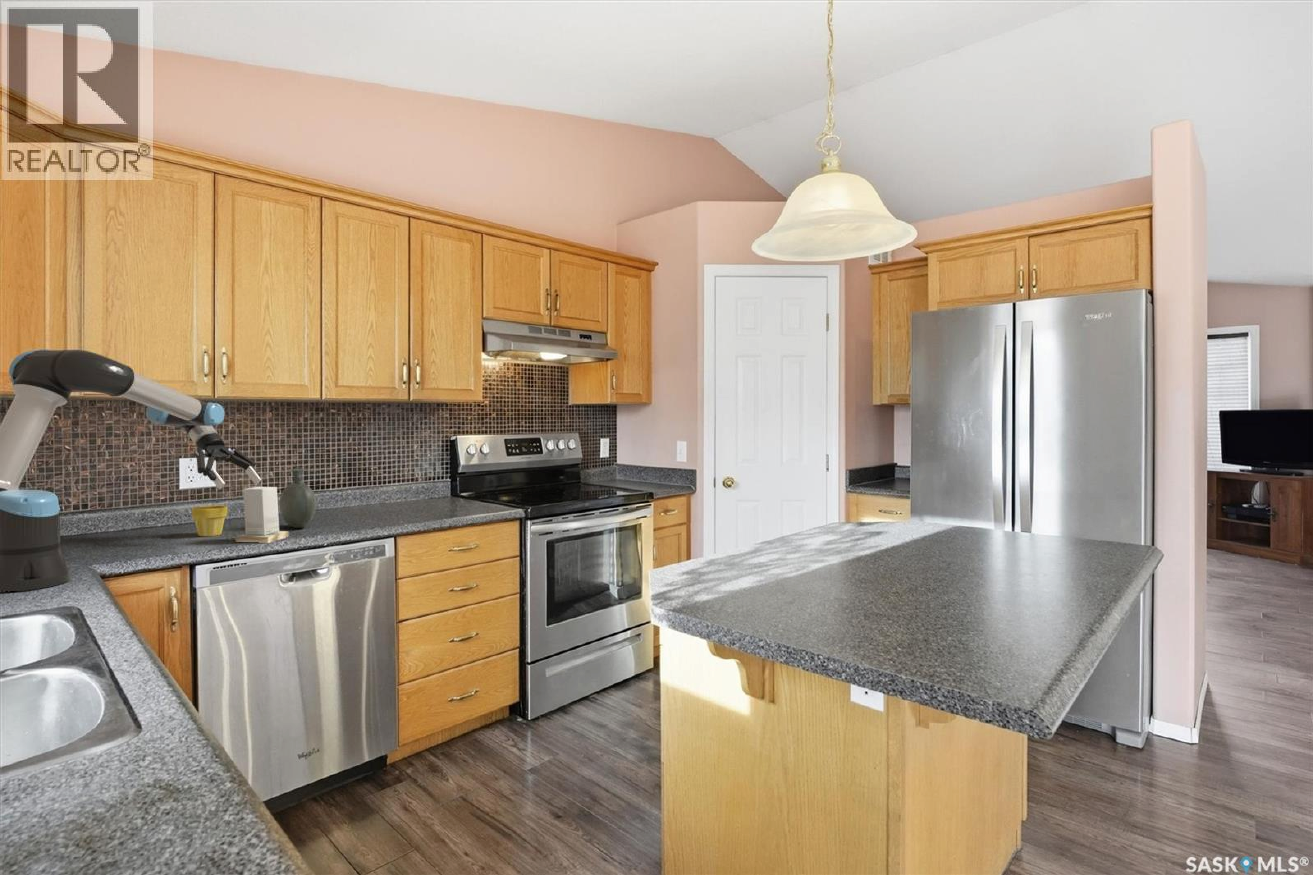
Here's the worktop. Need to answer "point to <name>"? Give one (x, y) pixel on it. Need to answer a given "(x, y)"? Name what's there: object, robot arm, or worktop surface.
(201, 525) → the plant pot
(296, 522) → the flask
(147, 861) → the worktop surface
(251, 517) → the skincare box
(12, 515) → the robot arm
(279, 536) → the birch board
